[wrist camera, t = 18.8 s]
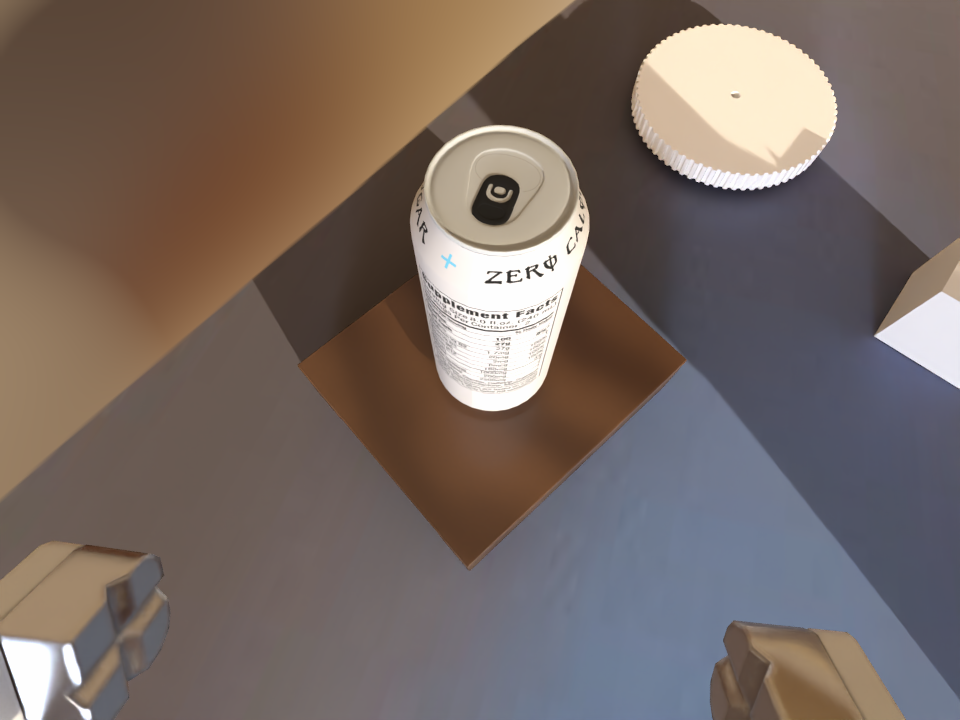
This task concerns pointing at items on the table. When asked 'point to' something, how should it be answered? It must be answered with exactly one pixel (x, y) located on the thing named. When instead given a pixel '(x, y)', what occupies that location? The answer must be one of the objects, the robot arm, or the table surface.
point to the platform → (488, 434)
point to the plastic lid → (733, 106)
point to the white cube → (929, 316)
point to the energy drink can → (497, 260)
